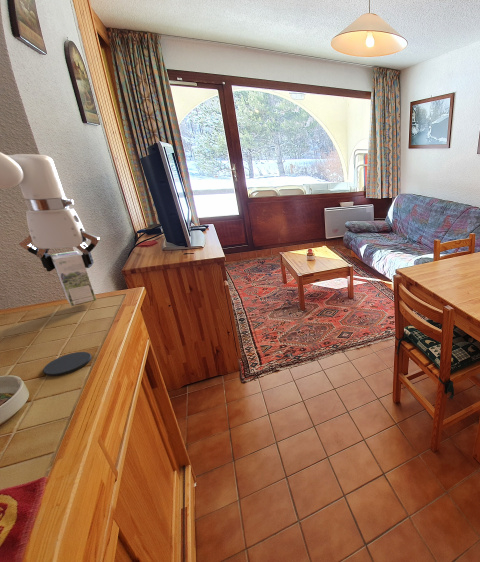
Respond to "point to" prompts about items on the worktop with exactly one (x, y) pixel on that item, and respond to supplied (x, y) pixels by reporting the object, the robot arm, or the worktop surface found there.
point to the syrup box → (73, 277)
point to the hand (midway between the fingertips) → (70, 267)
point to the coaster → (67, 364)
